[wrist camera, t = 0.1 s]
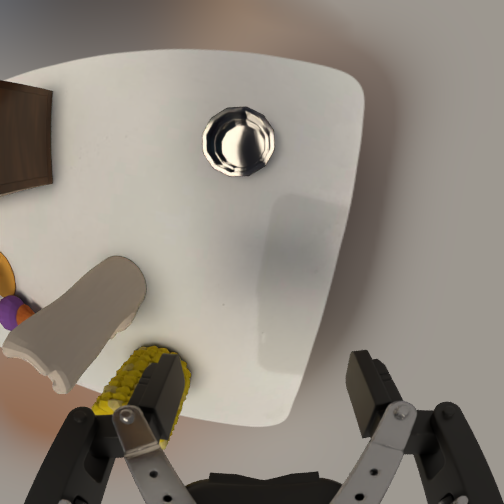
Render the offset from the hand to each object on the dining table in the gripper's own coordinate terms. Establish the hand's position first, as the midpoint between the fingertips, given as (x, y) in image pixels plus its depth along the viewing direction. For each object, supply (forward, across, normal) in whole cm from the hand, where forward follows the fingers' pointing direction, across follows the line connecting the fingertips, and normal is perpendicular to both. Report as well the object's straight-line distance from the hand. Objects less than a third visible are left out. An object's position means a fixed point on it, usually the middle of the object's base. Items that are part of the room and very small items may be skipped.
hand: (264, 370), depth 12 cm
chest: (+20, +37, -16) cm, 45 cm away
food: (+20, +15, +17) cm, 30 cm away
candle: (+20, +20, +7) cm, 29 cm away
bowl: (+20, +2, -11) cm, 23 cm away
